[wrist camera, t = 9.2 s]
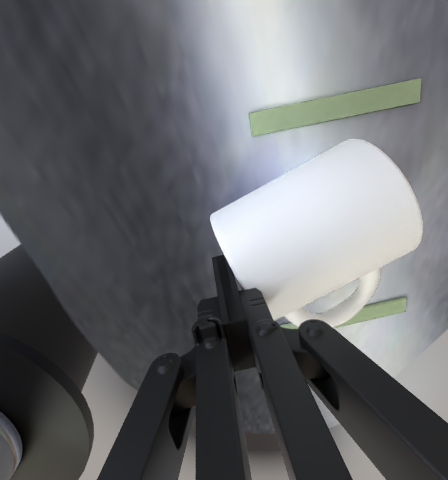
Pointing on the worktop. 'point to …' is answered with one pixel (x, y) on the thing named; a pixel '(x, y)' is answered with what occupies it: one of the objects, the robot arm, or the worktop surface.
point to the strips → (330, 111)
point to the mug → (321, 231)
